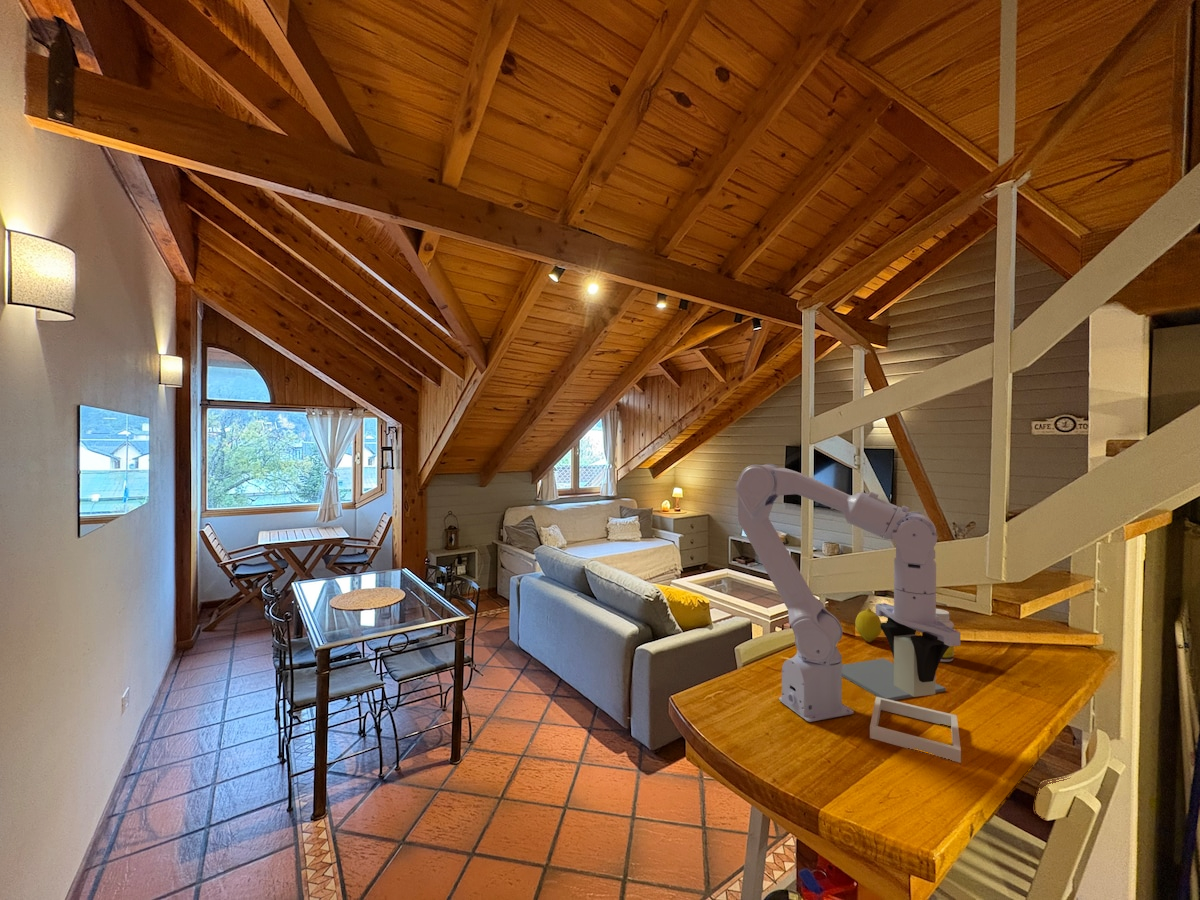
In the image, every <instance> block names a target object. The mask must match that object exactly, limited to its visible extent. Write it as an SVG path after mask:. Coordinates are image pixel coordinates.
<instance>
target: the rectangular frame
mask: <svg viewBox="0 0 1200 900" xmlns="http://www.w3.org/2000/svg"><path fill="white" fill-rule="evenodd" d="M881 711H883V712H888V713H892V714H896V715H900V716H904V717H909V718H912V719H917V720H920V721H924V722H928V723H933V724H937V725H940V724H945V725H949V726H951V727H950V730H951V731H950V732H952V733H951V742H952V745H951V744H947V743H943V742H941V741H935V740H932V739H928V738H924V737H920V736H916V735H913V734H909V733H905V732H901V731H898V730H894V729H889V728H888V727H887V728H886V727H882V726H879V722H880V716H881ZM871 715H872V716H871V720H870V724H869V739H871V740H872V739H873V740H876V741H879V742H883V743H886V744H890V745H894V746H897V747H901V748H905V749H908V748H910V749H909V750H911V749H918V750H922V751H925V752H928V753H932V754H934V755H936V756H935V757H937V756H940V757H943V758H942V759H944V758H946V759H945V760H948V759H950V760H949V761H951V760H952V761H953V762H956V763H958V764H959V763H960V764H961V763H962V749H961V748H962V747H961V740H960V731H959V724H958V715H956V714H953V713H949V712H944V711H940V710H935V709H932V708H927V707H923V706H919V705H914V704H910V703H905V702H901V701H898V700H894V701H893V700H889V699H885V698H881V697H878V696H876V697H875V700H874V706H873V710H872V713H871ZM940 757H939V758H940Z"/></svg>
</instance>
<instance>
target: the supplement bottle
mask: <svg viewBox="0 0 1200 900" xmlns="http://www.w3.org/2000/svg"><path fill="white" fill-rule="evenodd" d="M936 616H938V617H939V621H941V622H942V623H944V624H945V625H947V626H948V627H950V628H952V629H954V630H955V624H954V622H952V621H951V620H950V612H949V611H948V610H945V609H941V608H936ZM954 650H955V646H950V647H949V648H948V649H947V650H946V652H945V653H944V655H943V657H942V658H941V660H940V662H941V663H949V662H950V663H951V662H953V660H954V657H955V655H954V652H955V651H954ZM940 662H939V663H940Z"/></svg>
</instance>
